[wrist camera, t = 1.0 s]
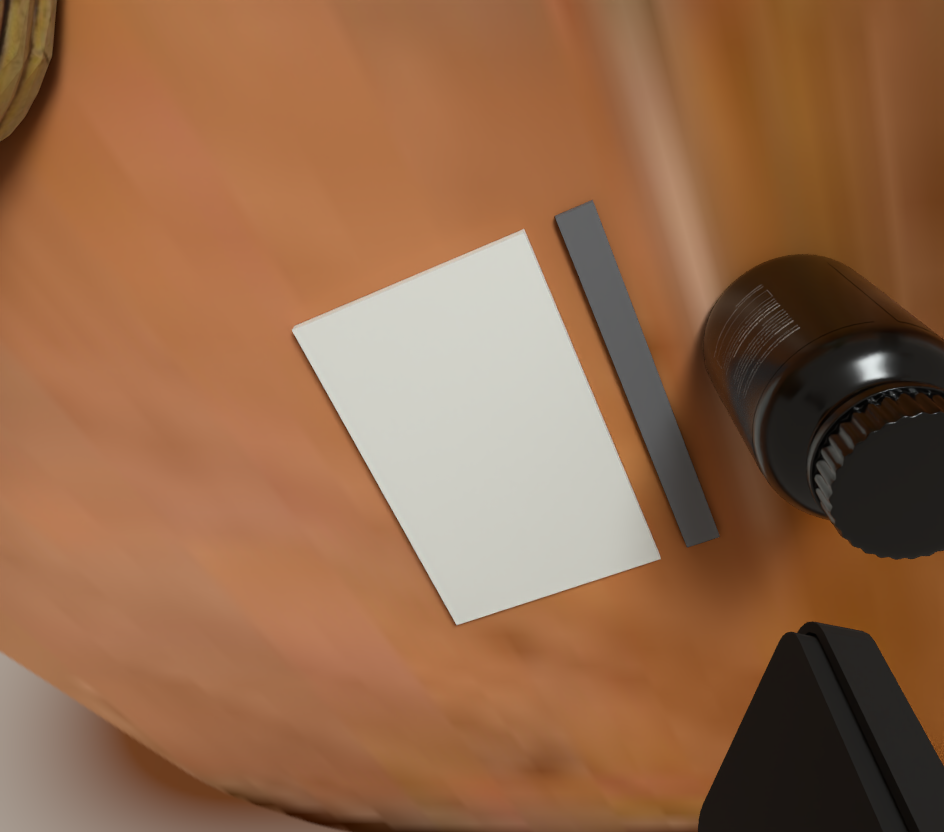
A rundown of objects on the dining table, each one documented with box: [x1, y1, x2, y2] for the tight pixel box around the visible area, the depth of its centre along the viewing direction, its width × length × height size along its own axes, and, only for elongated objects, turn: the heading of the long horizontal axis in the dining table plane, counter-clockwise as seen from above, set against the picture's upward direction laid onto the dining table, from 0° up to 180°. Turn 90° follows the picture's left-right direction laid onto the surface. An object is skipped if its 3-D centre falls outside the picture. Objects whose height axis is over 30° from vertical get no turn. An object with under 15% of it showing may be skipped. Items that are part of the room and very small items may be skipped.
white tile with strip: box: [292, 200, 720, 625], centre depth 37 cm, size 13×16×1 cm
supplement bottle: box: [703, 254, 944, 560], centre depth 29 cm, size 7×7×12 cm
